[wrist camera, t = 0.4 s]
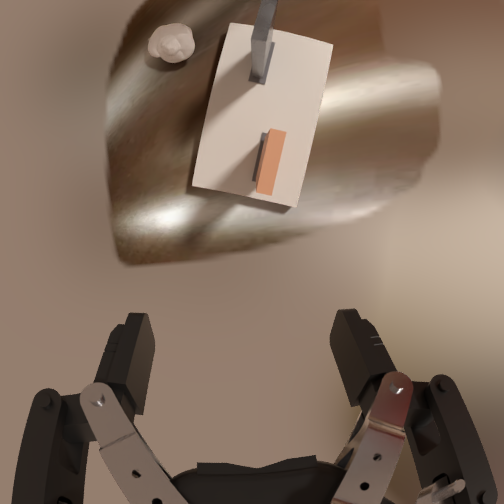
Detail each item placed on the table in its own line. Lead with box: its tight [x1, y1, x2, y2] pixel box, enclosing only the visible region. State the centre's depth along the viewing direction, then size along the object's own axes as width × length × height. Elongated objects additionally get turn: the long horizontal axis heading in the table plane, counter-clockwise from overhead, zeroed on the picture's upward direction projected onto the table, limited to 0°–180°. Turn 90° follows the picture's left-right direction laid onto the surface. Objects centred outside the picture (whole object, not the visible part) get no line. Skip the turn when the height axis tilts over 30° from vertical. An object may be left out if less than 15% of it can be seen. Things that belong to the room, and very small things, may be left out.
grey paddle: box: [251, 0, 278, 78], centre depth 22 cm, size 5×1×12 cm, turn 168°
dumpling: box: [148, 23, 195, 63], centre depth 27 cm, size 7×5×4 cm
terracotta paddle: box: [256, 128, 286, 196], centre depth 26 cm, size 5×1×12 cm, turn 168°
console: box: [192, 23, 333, 207], centre depth 31 cm, size 22×13×2 cm, turn 168°
